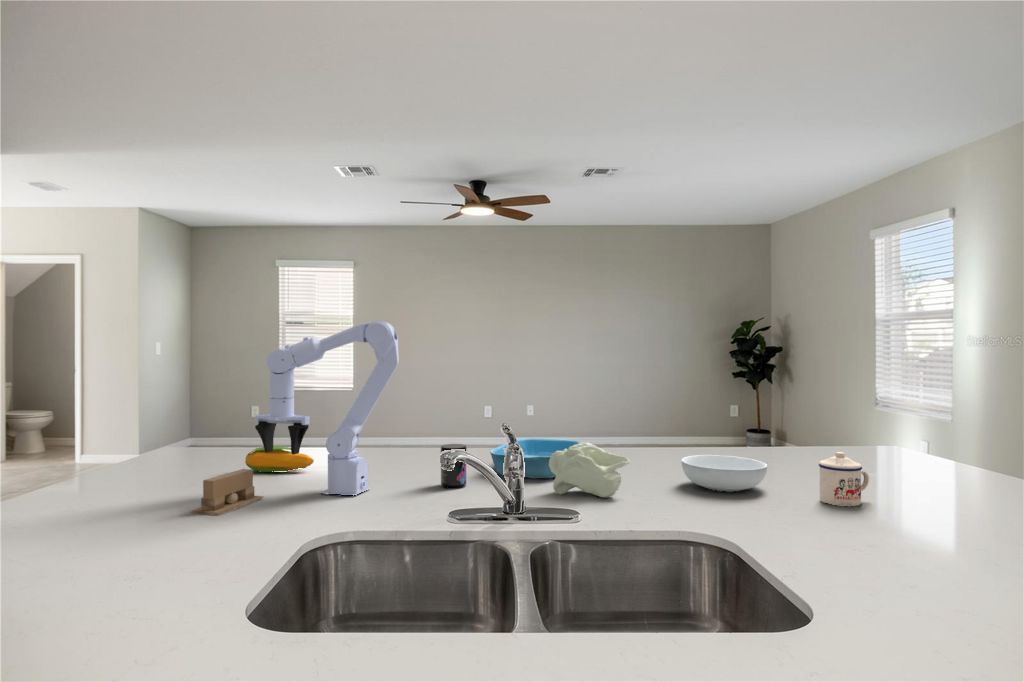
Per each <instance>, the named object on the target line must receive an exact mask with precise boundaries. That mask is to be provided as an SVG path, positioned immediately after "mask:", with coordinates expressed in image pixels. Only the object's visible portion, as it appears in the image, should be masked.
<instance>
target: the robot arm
mask: <svg viewBox="0 0 1024 682" xmlns="http://www.w3.org/2000/svg"><path fill="white" fill-rule="evenodd" d="M354 342H358V343H368V344H369V345H370V347H371V348H372V349H373V352H374V354H375V357H376V361H377V363H376V364H375V367H374V369H373V370H372V371H371V373H370V375H369V377H368V378H367V380H366V382H365V383H364V386H363V387H362V389H361V391H360V392H359V394H358V395H357V398H356V399H355V401H354V403H353V404H352V406H351V408H350V410H349V411H348V412H347V414H346V417H345V418H344V419H343V420H342V422H341V423H340V424H339V426H338V428H337V430H336V431H334V432H333V433H331V434H330V435H329V436H328V437H327V439H326V442H325V447H326V448H325V449H326V450H327V453H328V454H327V488H326V489H325V490H321V491H320V494H321V493H328V494H327V495H329V494H341V495H353V496H352V497H355V496H354V495H356V496H358V495H357V494H359V493H361V492H363V493H365V492H367V491H369V490H368V489H371V488H370V487H369V463H368V460H367V458H365V457H360V456H359V455H358V451H357V450H356V449H355V448H356V447H357V446H358V444H359V437H360V433H361V431H362V430H363V428H364V426H365V423H366V421H367V419H368V417H369V416H370V414H371V413H372V411H373V409H374V408H375V405H376V404H377V402H378V400H379V399H380V397H381V395H382V393H383V392H384V389H386V388H387V385H388V383H389V381H390V379H391V378H392V377H393V374H394V373H395V371H396V369H397V368H398V365H399V363H400V358H399V357H400V356H399V353H400V352H399V336H398V334H397V332H396V329H395V327H394V326H393V325H392V324H391V323H390V322H387V321H382V320H374V321H373V320H372V322H370V323H369V322H368V323H361V324H358V325H355V326H352V327H349V328H346V329H345V330H342V331H339V332H337V333H334V334H332V335H330V336H327V337H325V338H322V339H318V338H317V337H313V336H312V337H309V336H305V337H303V338H302V341H299V342H297V343H294V344H286V345H284V349H282V348H277V349H275V350H273V351H271V352H269V354H268V355H267V358H266V366H267V368H268V369H269V414H267V413H266V414H255V415H254V423H255V424H256V425H255V426H254V428H255V429H256V431H257V433H258V435H259V437H260V439H261V442H262V445H263V446H262V447H264V449H265V453H268V452H272V451H273V447H274V437H275V431H276V426H277V424H287V425H288V426H287V428H288V429H287V430H288V432H289V439H290V448H291V450H290V452H291V453H292V454H297V453H300V450H301V446H302V441H303V439H304V437H305V434H306V432H307V431H308V430H309V426H310V424H311V423H310V421H311V420H310V419H311V418H310V416H309V415H308V416H307V415H300V414H295V378H294V374H295V373H294V370H295V369H296V368H300V367H303V366H305V365H308V364H311V363H314V362H316V361H320V360H322V359H323V357H324V355H325V353H326V352H329V351H331V350H334V349H337V348H340V347H344V346H345V345H346V346H347V345H348V344H351V343H354ZM366 490H367V491H366ZM364 491H365V492H364ZM361 494H362V493H361ZM341 495H340V496H341ZM359 495H360V494H359Z"/></svg>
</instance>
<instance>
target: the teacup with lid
mask: <svg viewBox="0 0 1024 682" xmlns="http://www.w3.org/2000/svg"><path fill="white" fill-rule="evenodd" d="M818 466H819V500H820V502H822V503H824V504H826V503H828V504H827V505H830V504H832V505H831V506H835V505H837V506H836V507H844V506H848V508H851V506H853V507H857V506H860V505H861V504H862V492H863V491H864V490H866V489H867V487H868V485H869V481H870V477H869V476H870V475H869V473H868V472H867V471H865V470H863V467H862V464H861V463H859V462H857V461H854V460H852V459H851V458H849V457H847V456H846V453H845V452H843V451H837V452H835V455H833V456H831V457H828V458H827V459H822V460H820V461H819V462H818ZM862 476H863V482H862Z"/></svg>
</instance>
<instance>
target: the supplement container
mask: <svg viewBox="0 0 1024 682" xmlns="http://www.w3.org/2000/svg"><path fill="white" fill-rule="evenodd" d="M467 448H468V447H467V444H462V443H449V444H442V445H440V453H441V452H442V451H444V450H451V449H465V451H468V450H467ZM440 485H441V487H442V488H444V489H449V488H451V489H452V488H457V489H462V488H465V486H466V485H467V463H466V464H465V463H463V462H459V461H457V462H456V463H455V467H454V470H452V471H447V470H443V469H442V468H441V467H440ZM451 489H450V490H451Z"/></svg>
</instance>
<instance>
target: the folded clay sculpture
mask: <svg viewBox="0 0 1024 682" xmlns="http://www.w3.org/2000/svg"><path fill="white" fill-rule="evenodd" d="M630 463H631V461H630V459H628V458H627V457H625V456H622V455H618V454H614V453H610V452H609V451H606V450H604V449H602V448H600V447H598V446H597V445H595V444H592V443H590V442H587V441H585V442H581V443H579V444H576V445H573V446H570V447H569V449H568V450H567V449H564V450H563V451H556V452H555V453H553V454H552V455H551V458H550V460H549V467H550V469H551V472H553V473H554V474H555V475H556V477H555V479H554V480H553V485H552V486H553V490H554V492H555V493H556V494H557V495H560V494H562V495H565V494H566V493H568V492H569V491H570V490H571V489H574V488H577V489H579V490H581V491H583V492H584V493H586V494H587V493H588V494H592V495H594V496H598V497H599V498H603V499H604V498H606V499H607V498H610V497H613V496H614V495H616V492H617V491H618V490H619V488H620V486H621V484H622V475H621V474H620V473H619V472H618V471H617V469H620V468H623V467H626V466H627V465H629V464H630Z"/></svg>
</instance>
